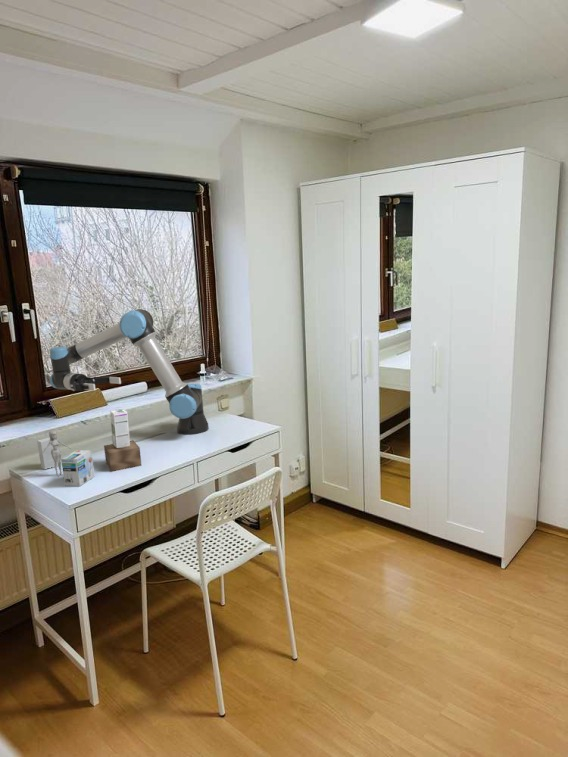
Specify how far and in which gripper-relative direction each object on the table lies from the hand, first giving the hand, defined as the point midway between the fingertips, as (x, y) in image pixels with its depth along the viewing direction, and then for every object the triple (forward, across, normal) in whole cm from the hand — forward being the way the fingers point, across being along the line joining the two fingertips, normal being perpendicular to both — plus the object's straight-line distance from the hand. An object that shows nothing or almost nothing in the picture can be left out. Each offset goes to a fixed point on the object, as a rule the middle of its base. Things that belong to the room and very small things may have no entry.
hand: (107, 383), depth 242 cm
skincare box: (-12, +25, -31) cm, 41 cm away
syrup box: (+15, +10, -23) cm, 29 cm away
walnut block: (+15, +10, -31) cm, 36 cm away
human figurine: (0, +30, -31) cm, 43 cm away
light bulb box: (+14, +30, -31) cm, 46 cm away
